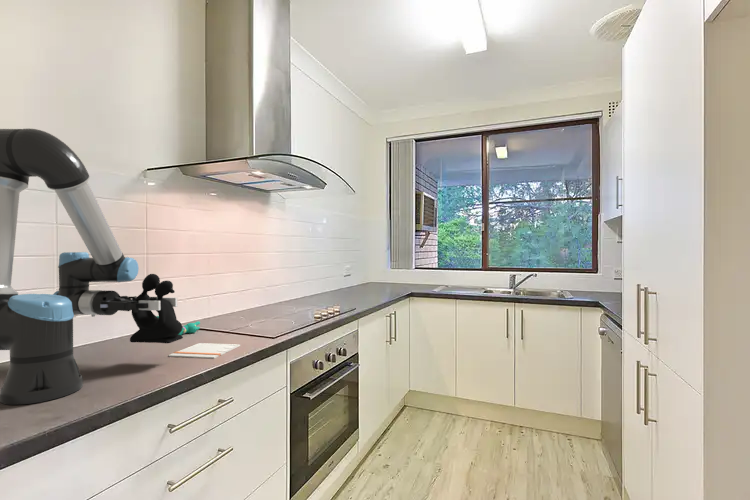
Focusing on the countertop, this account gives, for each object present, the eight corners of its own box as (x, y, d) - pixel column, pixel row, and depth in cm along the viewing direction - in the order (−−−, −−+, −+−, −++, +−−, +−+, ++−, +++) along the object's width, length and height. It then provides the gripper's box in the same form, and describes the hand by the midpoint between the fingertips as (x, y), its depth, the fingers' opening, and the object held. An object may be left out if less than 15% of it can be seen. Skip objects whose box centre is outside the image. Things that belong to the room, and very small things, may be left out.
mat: (214, 358, 123) (214, 356, 123) (168, 356, 126) (168, 354, 126) (240, 345, 139) (240, 344, 139) (198, 344, 142) (198, 342, 142)
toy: (172, 329, 147) (207, 318, 166) (124, 321, 152) (163, 311, 171) (172, 347, 147) (206, 334, 167) (123, 339, 152) (162, 327, 171)
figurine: (125, 343, 115) (124, 274, 115) (146, 336, 124) (145, 272, 124) (170, 344, 114) (169, 274, 114) (188, 337, 122) (187, 272, 122)
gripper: (126, 310, 132) (189, 311, 128) (72, 320, 113) (143, 322, 109) (126, 287, 132) (188, 288, 128) (71, 294, 113) (143, 295, 109)
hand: (168, 303), depth 118 cm, fingers closed on figurine, 7 cm apart
